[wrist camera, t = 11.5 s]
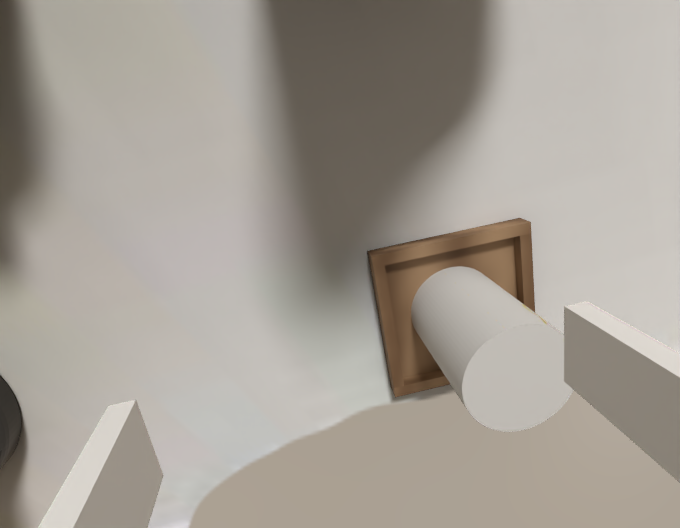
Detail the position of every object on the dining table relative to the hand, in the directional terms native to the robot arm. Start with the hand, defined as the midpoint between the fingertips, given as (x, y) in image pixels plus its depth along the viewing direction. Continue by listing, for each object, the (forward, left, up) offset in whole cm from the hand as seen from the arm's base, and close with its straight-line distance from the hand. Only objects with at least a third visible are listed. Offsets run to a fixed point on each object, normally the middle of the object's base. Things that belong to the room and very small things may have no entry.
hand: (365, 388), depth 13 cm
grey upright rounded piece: (+11, -11, -25) cm, 29 cm away
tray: (+11, -11, -25) cm, 30 cm away
